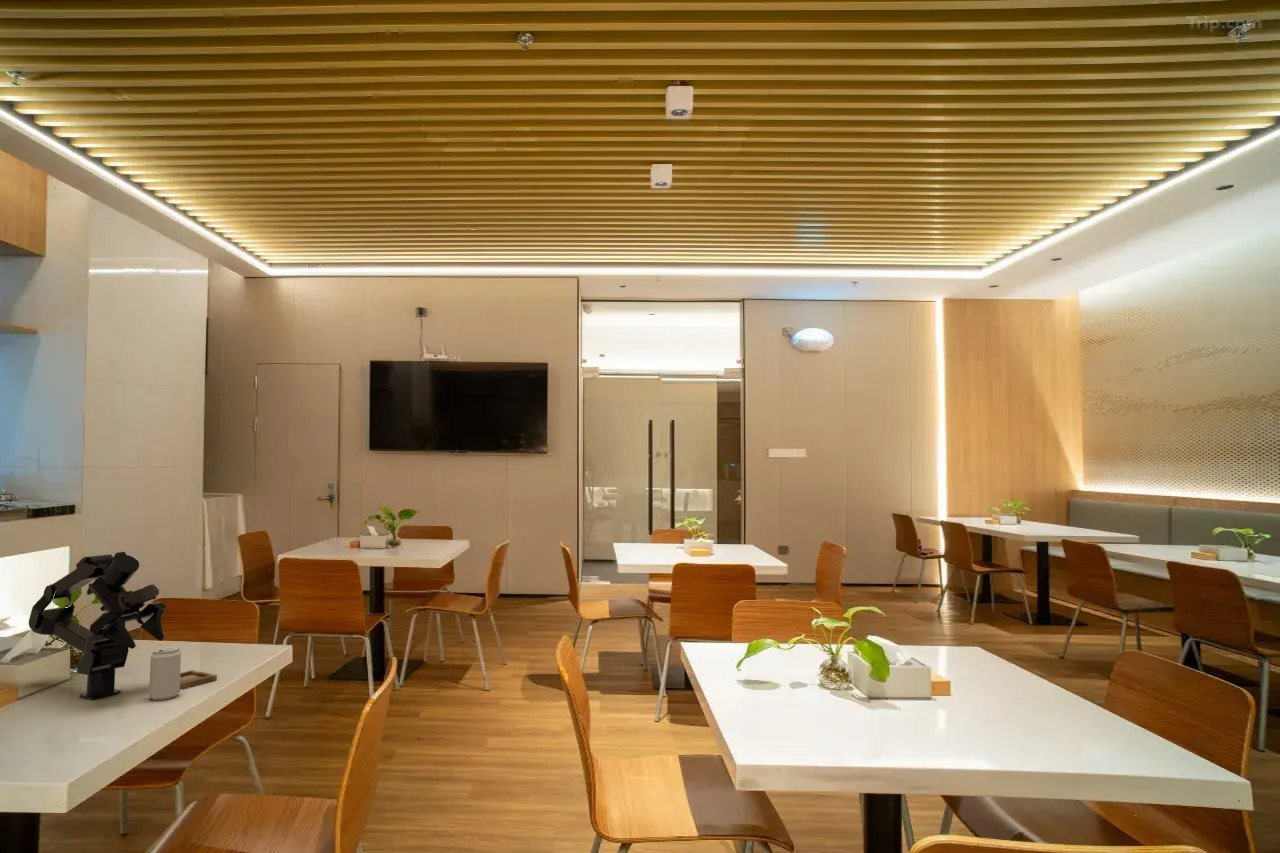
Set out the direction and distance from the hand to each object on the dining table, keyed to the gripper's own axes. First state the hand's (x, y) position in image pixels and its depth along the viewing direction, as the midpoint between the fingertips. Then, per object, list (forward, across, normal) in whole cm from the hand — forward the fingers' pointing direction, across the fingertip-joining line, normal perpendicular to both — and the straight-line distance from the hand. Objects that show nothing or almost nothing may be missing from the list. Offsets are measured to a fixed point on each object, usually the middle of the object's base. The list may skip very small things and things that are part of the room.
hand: (148, 643), depth 181 cm
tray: (+10, +12, +8) cm, 18 cm away
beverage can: (+13, 0, +5) cm, 14 cm away
